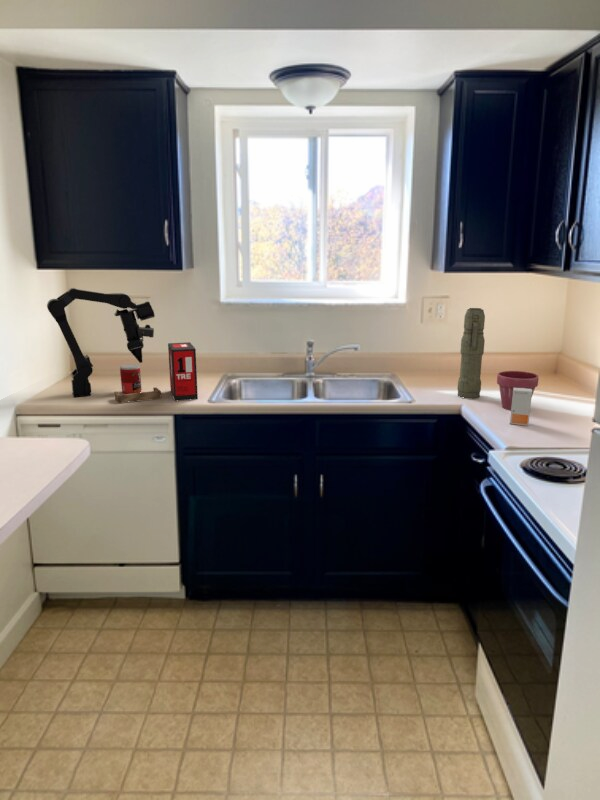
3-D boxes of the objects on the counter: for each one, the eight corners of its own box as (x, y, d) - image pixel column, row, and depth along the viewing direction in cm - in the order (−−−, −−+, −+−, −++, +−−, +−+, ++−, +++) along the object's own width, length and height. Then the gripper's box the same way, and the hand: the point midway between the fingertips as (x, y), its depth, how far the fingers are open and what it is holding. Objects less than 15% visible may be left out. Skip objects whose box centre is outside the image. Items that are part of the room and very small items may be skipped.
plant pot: (486, 406, 217) (489, 373, 214) (509, 401, 225) (512, 368, 222) (520, 415, 206) (523, 380, 203) (543, 409, 214) (546, 375, 210)
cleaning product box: (197, 399, 228) (195, 348, 222) (174, 400, 225) (172, 350, 220) (192, 389, 243) (190, 342, 238) (170, 391, 240) (168, 343, 235)
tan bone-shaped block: (118, 403, 221) (117, 395, 220) (115, 399, 227) (114, 391, 226) (161, 398, 228) (160, 391, 227) (156, 394, 234) (156, 387, 233)
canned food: (136, 395, 233) (134, 368, 230) (118, 394, 235) (116, 367, 232) (145, 390, 240) (143, 364, 238) (127, 389, 242) (125, 364, 239)
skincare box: (509, 424, 195) (512, 390, 192) (509, 420, 199) (513, 387, 196) (528, 426, 193) (532, 391, 190) (528, 422, 197) (532, 388, 194)
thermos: (460, 399, 227) (467, 310, 218) (454, 392, 238) (460, 307, 229) (483, 400, 226) (491, 310, 217) (476, 392, 238) (483, 307, 229)
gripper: (149, 322, 228) (161, 360, 233) (149, 315, 245) (159, 350, 251) (121, 329, 226) (133, 367, 231) (123, 322, 243) (134, 357, 249)
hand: (141, 360), depth 240 cm, fingers open, 9 cm apart
